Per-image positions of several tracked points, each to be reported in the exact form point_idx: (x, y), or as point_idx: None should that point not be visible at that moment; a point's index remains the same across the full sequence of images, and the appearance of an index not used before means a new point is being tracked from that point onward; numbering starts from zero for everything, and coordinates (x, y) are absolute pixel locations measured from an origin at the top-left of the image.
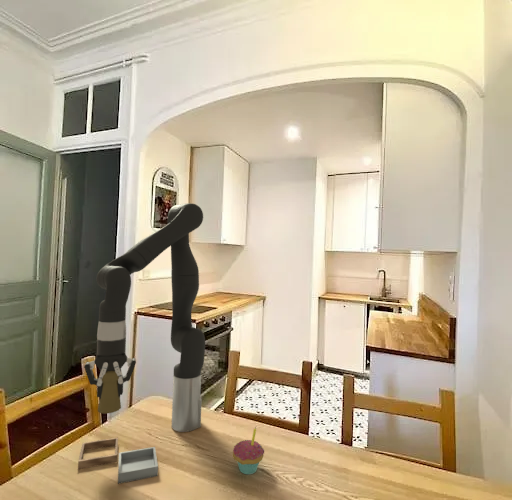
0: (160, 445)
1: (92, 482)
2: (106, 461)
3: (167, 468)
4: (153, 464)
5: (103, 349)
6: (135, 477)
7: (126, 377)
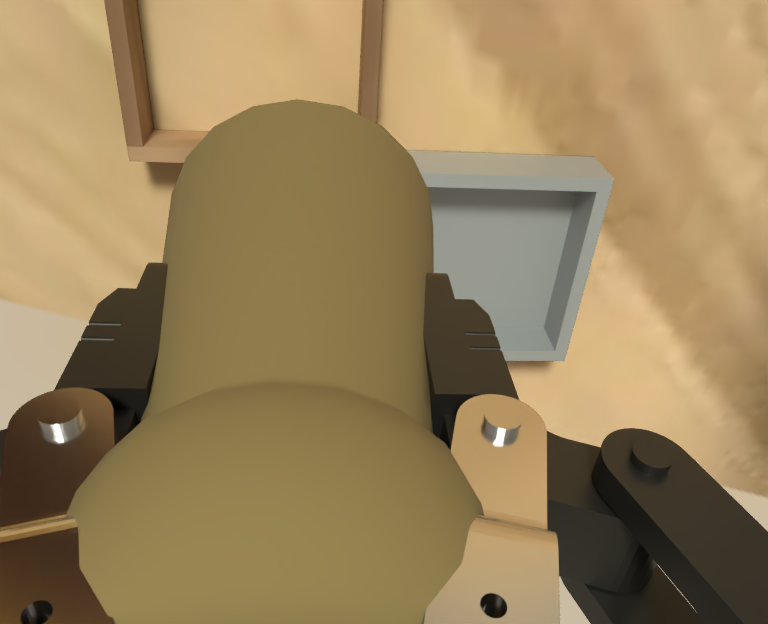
0: (670, 43)
1: None
2: None
3: (612, 291)
4: (557, 261)
5: None
6: None
7: (587, 604)
